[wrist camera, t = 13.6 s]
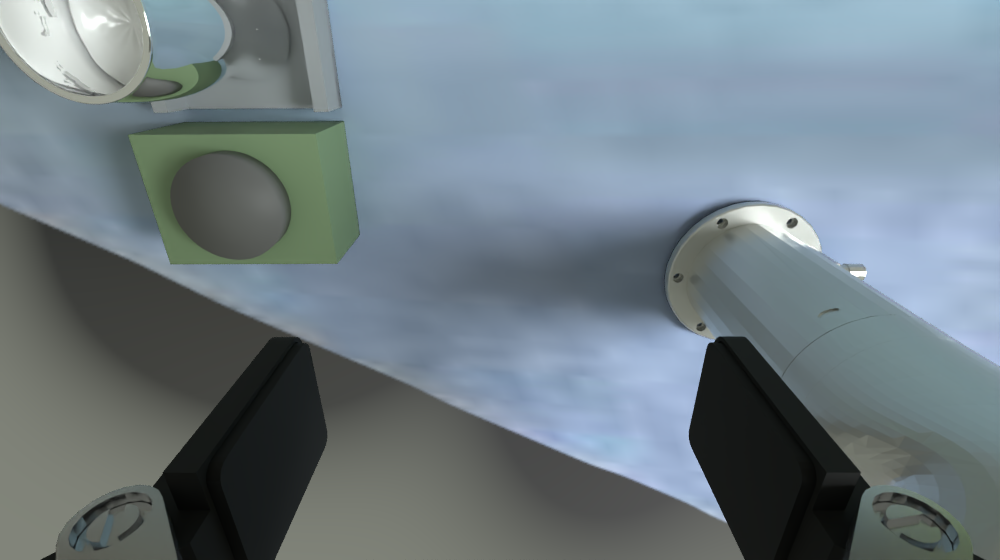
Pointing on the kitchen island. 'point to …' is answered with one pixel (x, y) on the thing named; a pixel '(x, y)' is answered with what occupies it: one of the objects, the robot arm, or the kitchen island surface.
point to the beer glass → (142, 45)
